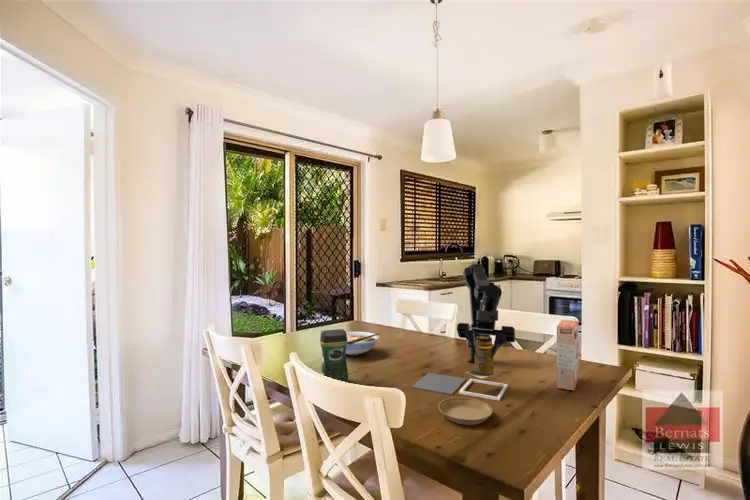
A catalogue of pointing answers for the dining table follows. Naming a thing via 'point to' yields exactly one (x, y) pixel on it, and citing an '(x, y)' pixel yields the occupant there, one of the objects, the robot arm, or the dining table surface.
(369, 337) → the ramen bowl
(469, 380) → the ceramic frame
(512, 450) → the dining table surface
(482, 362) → the condiment
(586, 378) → the dining table surface
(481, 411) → the plant saucer
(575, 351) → the cracker box
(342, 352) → the coffee jar
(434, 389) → the rubber mat
